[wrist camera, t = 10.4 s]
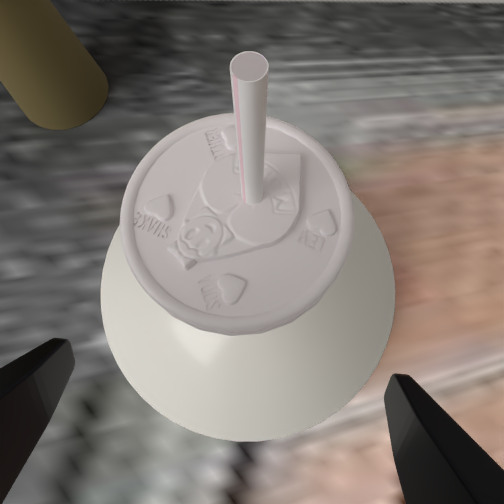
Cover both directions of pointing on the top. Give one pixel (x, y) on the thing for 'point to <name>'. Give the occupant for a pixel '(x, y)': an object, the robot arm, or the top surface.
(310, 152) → the smoothie
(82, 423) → the top surface
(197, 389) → the plate
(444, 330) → the top surface
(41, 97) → the cork
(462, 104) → the top surface
